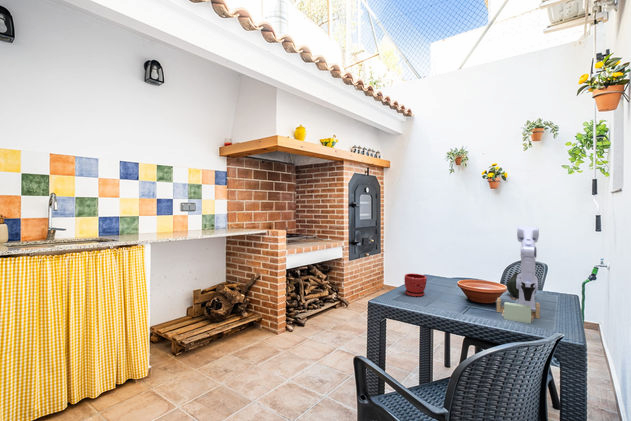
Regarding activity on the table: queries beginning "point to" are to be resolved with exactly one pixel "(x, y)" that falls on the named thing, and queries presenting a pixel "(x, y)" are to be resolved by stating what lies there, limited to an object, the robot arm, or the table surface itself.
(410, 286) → the plant pot
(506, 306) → the green sheet
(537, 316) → the oak rack
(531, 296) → the robot arm
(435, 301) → the table surface
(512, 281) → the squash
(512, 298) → the hand saw
